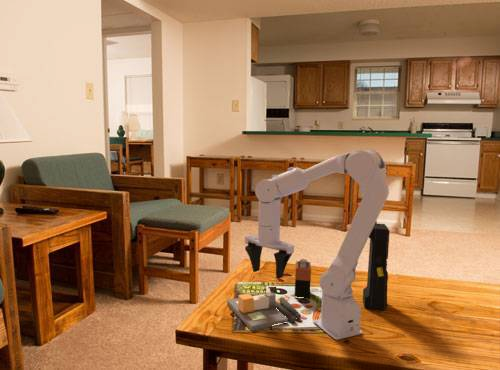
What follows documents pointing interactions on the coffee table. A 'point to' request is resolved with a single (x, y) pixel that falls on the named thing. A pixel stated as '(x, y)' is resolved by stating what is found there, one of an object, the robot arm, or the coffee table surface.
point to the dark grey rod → (285, 312)
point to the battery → (302, 278)
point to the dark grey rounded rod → (290, 308)
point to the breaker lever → (256, 302)
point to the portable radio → (377, 269)
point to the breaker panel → (258, 316)
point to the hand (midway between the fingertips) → (267, 274)
